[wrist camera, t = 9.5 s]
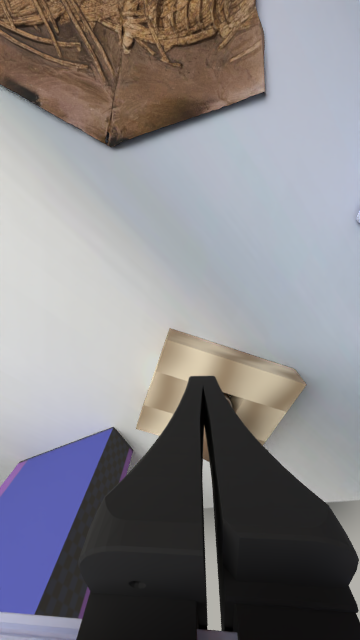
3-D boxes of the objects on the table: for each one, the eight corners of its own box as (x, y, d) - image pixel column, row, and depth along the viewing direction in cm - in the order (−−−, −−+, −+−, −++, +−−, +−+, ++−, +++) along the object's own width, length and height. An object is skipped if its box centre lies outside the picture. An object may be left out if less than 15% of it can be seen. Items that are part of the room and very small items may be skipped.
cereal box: (41, 480, 32) (-303, 1031, 10) (19, 461, 31) (-442, 1057, 8) (133, 450, 28) (-93, 1250, 6) (113, 426, 27) (-285, 1370, 4)
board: (294, 369, 22) (306, 384, 19) (245, 442, 26) (250, 462, 24) (169, 328, 21) (166, 339, 19) (141, 411, 25) (135, 428, 23)
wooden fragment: (301, -36, 12) (311, -60, 11) (240, 181, 16) (243, 177, 15) (-145, -160, 11) (-177, -197, 10) (-89, 100, 16) (-107, 90, 15)
